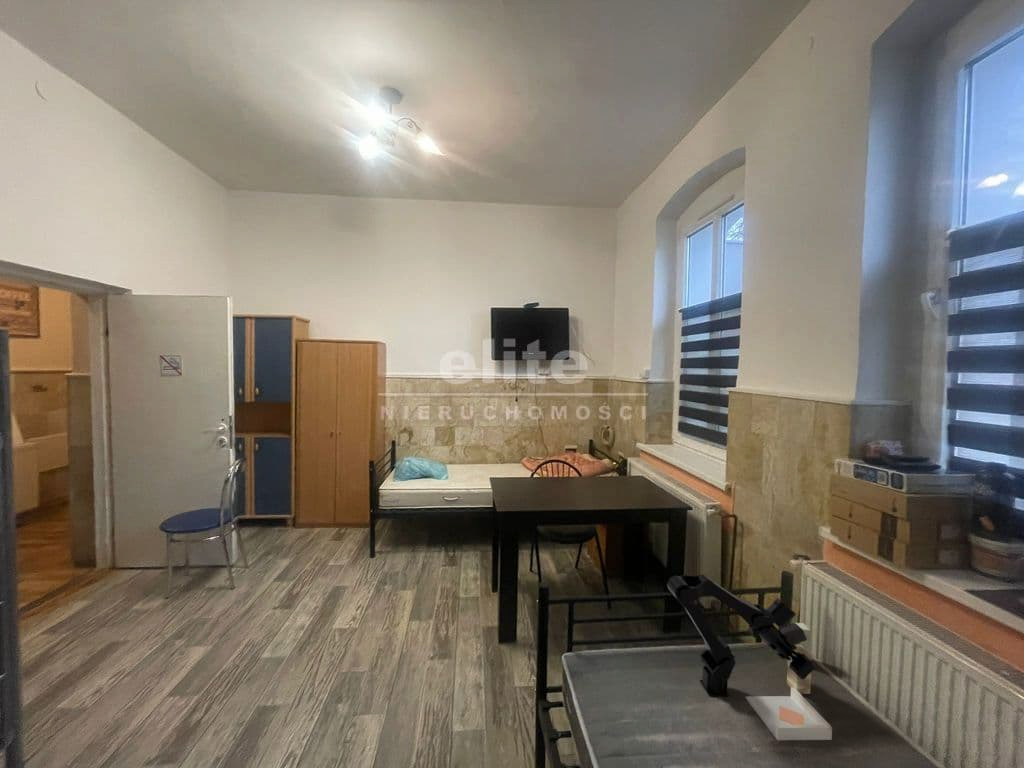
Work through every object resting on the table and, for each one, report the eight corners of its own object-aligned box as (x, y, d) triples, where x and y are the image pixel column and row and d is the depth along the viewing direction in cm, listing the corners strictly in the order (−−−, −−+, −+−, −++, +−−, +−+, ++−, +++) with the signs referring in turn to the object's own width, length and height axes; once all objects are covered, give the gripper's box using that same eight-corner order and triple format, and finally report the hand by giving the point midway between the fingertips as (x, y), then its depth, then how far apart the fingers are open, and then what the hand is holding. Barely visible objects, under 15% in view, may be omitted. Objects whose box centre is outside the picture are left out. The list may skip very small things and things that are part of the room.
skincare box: (803, 655, 152) (804, 622, 152) (810, 664, 147) (811, 630, 147) (784, 654, 152) (785, 621, 152) (791, 662, 148) (792, 628, 148)
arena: (777, 740, 116) (778, 727, 116) (745, 698, 131) (745, 687, 131) (831, 739, 116) (832, 727, 116) (793, 698, 131) (793, 687, 131)
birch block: (796, 693, 133) (798, 653, 133) (786, 683, 138) (788, 644, 138) (810, 693, 133) (811, 653, 133) (800, 683, 138) (801, 644, 138)
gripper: (810, 636, 126) (844, 671, 126) (770, 602, 144) (800, 633, 145) (784, 661, 126) (818, 697, 126) (747, 624, 144) (777, 655, 145)
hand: (803, 668), depth 136 cm, fingers closed on birch block, 4 cm apart
